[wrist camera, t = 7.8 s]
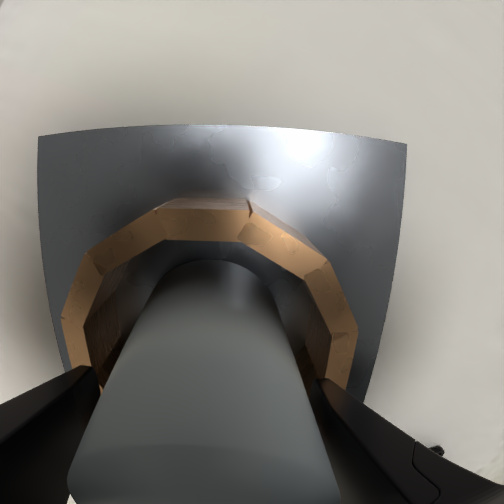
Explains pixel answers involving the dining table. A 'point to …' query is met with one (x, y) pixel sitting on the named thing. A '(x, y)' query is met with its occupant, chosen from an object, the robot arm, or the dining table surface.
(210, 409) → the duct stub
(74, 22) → the dining table surface
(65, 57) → the dining table surface
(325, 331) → the duct collar
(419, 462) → the robot arm
